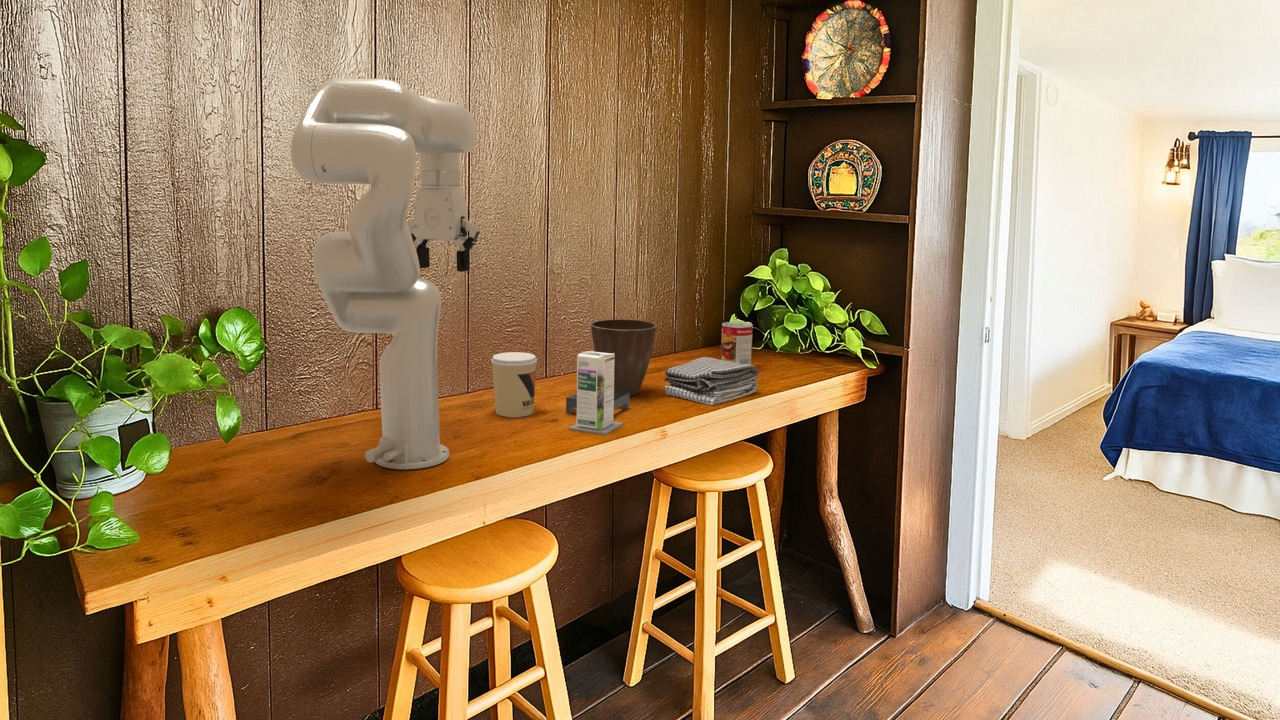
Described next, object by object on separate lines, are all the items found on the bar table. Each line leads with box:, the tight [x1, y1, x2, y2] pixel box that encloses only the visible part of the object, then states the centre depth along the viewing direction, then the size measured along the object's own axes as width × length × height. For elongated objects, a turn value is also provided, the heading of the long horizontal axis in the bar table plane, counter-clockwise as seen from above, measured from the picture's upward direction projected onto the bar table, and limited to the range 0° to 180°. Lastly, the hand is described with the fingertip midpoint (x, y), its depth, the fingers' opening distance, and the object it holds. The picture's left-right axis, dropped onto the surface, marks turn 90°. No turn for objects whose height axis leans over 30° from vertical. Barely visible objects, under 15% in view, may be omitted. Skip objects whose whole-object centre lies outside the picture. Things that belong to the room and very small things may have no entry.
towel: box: [663, 356, 760, 406], centre depth 199 cm, size 15×18×8 cm
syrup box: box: [575, 350, 615, 430], centre depth 170 cm, size 6×6×14 cm
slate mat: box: [568, 420, 624, 436], centre depth 171 cm, size 8×8×1 cm
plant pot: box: [590, 318, 657, 397], centre depth 198 cm, size 15×15×16 cm
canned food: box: [720, 321, 754, 365], centre depth 224 cm, size 8×8×12 cm
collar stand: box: [565, 391, 631, 415], centre depth 183 cm, size 10×10×4 cm
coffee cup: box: [490, 351, 538, 418], centre depth 180 cm, size 9×9×12 cm
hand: (443, 269), depth 170 cm, fingers open, 9 cm apart
